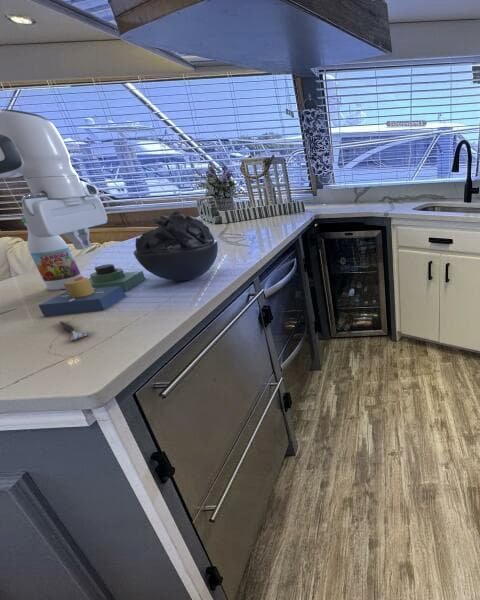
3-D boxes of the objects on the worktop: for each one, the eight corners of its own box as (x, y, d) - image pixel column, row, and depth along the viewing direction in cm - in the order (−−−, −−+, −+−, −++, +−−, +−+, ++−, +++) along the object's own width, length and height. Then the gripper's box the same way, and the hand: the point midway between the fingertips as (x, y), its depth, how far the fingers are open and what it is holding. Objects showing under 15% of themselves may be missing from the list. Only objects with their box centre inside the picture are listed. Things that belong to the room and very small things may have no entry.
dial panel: (44, 316, 73) (37, 304, 72) (72, 301, 81) (66, 290, 80) (104, 310, 75) (98, 298, 74) (125, 296, 83) (121, 284, 82)
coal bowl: (192, 292, 84) (169, 219, 77) (127, 290, 87) (99, 220, 80) (239, 268, 102) (224, 208, 95) (183, 268, 105) (165, 209, 98)
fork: (69, 321, 70) (65, 313, 70) (93, 339, 62) (89, 330, 61) (53, 326, 68) (48, 317, 68) (76, 345, 60) (71, 336, 59)
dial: (86, 296, 75) (79, 281, 74) (65, 298, 75) (57, 283, 73) (98, 290, 79) (92, 275, 78) (78, 292, 79) (71, 277, 77)
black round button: (94, 276, 87) (91, 269, 86) (103, 272, 90) (100, 265, 89) (110, 274, 87) (107, 267, 86) (119, 270, 91) (116, 263, 90)
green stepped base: (75, 296, 85) (68, 280, 83) (100, 283, 94) (93, 269, 92) (127, 291, 87) (120, 275, 85) (145, 279, 96) (140, 264, 94)
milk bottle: (41, 289, 91) (4, 218, 83) (73, 280, 98) (42, 213, 90) (59, 291, 89) (22, 218, 81) (91, 282, 95) (60, 213, 88)
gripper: (36, 192, 66) (67, 257, 71) (101, 187, 85) (121, 238, 90) (0, 194, 65) (34, 260, 70) (74, 188, 84) (96, 240, 89)
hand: (83, 248), depth 80 cm, fingers closed
